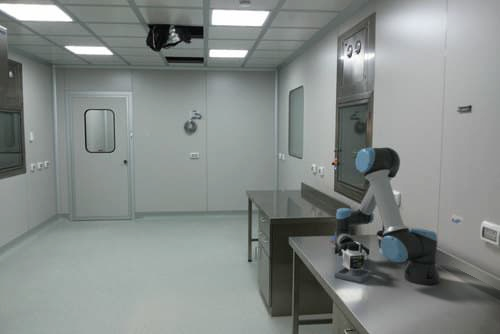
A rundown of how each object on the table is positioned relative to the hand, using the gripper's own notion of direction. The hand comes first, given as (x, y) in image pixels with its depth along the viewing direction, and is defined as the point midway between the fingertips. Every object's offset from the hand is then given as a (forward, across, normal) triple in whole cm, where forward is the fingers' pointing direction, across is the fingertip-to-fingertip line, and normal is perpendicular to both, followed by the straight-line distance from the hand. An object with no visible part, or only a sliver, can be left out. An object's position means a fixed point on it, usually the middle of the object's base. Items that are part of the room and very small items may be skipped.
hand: (355, 256), depth 186 cm
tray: (-4, 0, -11) cm, 12 cm away
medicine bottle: (-5, 0, -7) cm, 8 cm away
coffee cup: (-43, -26, -12) cm, 52 cm away
